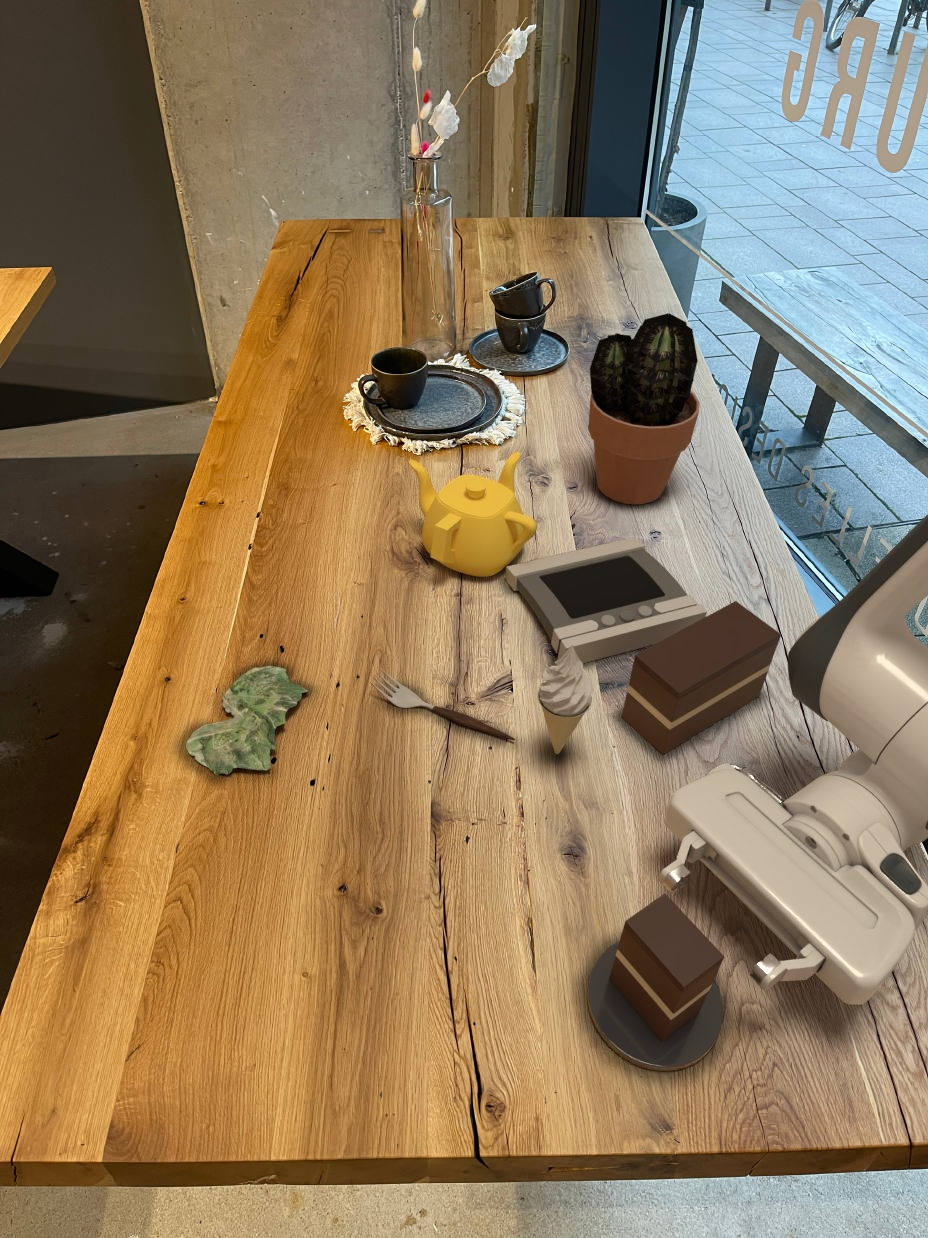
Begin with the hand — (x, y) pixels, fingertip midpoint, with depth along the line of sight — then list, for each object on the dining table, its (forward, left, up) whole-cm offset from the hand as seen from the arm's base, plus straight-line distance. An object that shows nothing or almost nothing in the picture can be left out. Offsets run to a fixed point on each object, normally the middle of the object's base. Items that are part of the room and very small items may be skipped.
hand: (710, 929), depth 68 cm
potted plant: (+33, -60, -7) cm, 69 cm away
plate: (+2, +4, -7) cm, 8 cm away
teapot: (+44, -37, -7) cm, 58 cm away
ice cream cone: (+20, -14, -7) cm, 25 cm away
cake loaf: (+11, -27, -7) cm, 30 cm away
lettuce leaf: (+48, -1, -7) cm, 48 cm away
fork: (+32, -12, -7) cm, 35 cm away
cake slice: (+2, +4, -6) cm, 8 cm away
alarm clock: (+26, -36, -7) cm, 45 cm away
